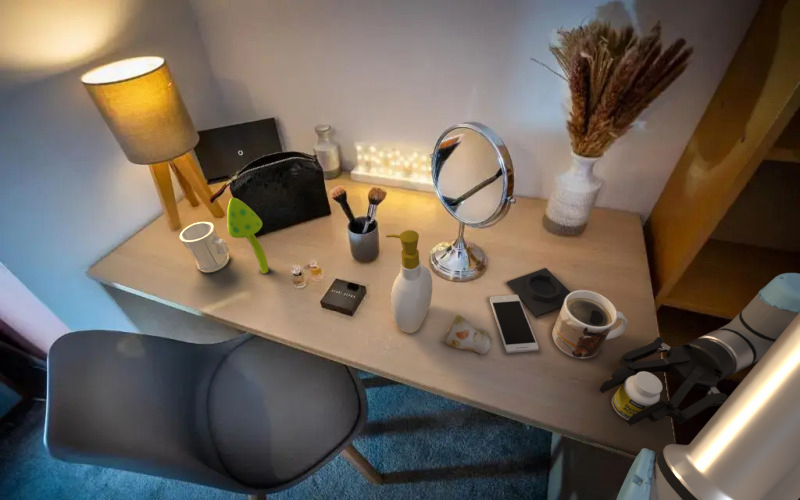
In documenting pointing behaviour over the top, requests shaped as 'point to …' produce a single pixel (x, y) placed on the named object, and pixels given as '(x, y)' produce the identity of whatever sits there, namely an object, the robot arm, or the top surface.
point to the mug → (586, 324)
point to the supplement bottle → (637, 394)
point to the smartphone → (513, 324)
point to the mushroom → (246, 227)
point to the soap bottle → (410, 286)
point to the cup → (205, 246)
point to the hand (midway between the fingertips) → (617, 403)
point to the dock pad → (540, 291)
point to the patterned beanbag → (467, 336)
